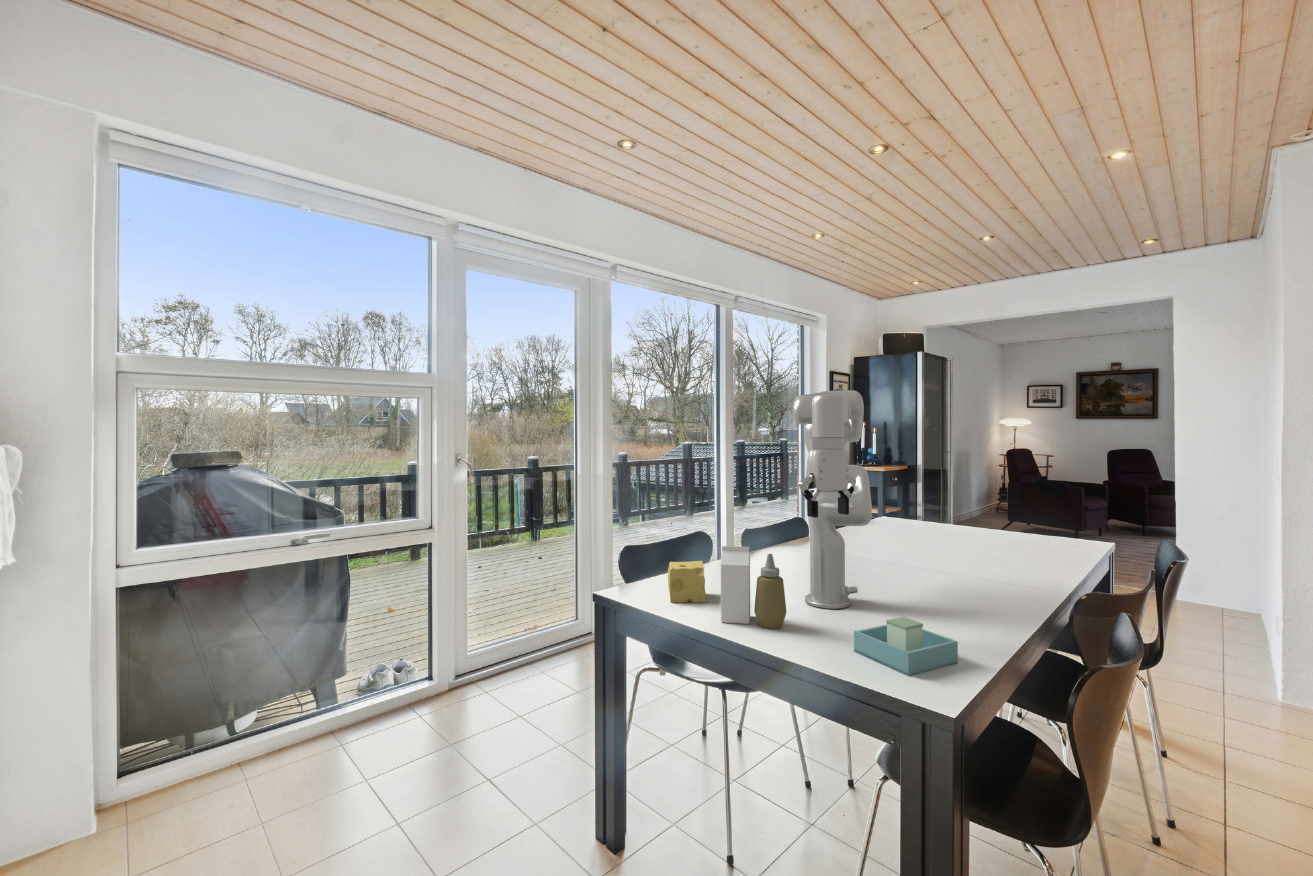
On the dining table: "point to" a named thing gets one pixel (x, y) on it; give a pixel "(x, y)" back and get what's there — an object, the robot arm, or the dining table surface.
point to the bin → (929, 657)
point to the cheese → (686, 582)
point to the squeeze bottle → (770, 596)
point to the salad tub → (904, 633)
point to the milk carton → (735, 584)
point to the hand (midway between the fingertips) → (828, 515)
